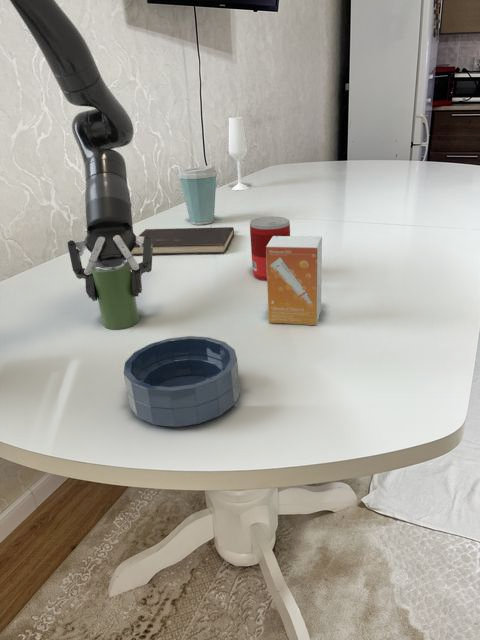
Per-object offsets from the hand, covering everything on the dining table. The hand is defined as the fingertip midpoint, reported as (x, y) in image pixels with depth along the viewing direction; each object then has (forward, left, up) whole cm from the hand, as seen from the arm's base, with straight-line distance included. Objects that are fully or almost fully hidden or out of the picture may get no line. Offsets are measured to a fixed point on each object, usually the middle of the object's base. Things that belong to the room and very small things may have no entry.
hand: (115, 296), depth 85 cm
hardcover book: (+12, +46, -5) cm, 48 cm away
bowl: (+10, -25, -5) cm, 28 cm away
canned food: (+29, +18, -5) cm, 34 cm away
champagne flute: (+35, +115, -5) cm, 120 cm away
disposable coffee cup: (+18, +68, -5) cm, 70 cm away
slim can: (0, +2, -5) cm, 6 cm away
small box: (+29, -4, -5) cm, 30 cm away
